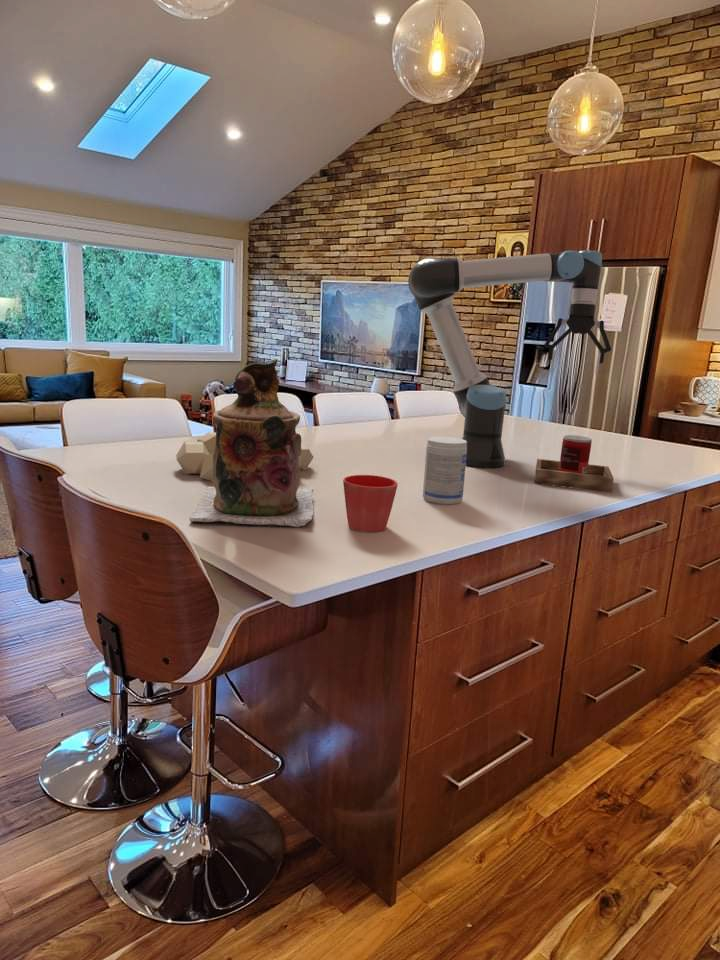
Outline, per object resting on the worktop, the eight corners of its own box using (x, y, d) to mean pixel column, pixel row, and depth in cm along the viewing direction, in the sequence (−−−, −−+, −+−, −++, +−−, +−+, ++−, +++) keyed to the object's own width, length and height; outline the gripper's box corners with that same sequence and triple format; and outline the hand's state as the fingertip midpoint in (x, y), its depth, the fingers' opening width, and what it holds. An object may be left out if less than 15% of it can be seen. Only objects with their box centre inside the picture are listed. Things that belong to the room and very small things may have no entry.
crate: (534, 483, 177) (536, 469, 176) (535, 471, 192) (537, 458, 191) (611, 492, 172) (613, 478, 171) (606, 479, 187) (608, 466, 186)
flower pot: (366, 515, 138) (369, 471, 136) (404, 529, 131) (408, 482, 128) (329, 524, 131) (332, 477, 129) (367, 539, 123) (371, 490, 121)
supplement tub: (468, 505, 151) (474, 444, 147) (429, 506, 149) (435, 443, 145) (453, 494, 160) (459, 436, 157) (416, 494, 158) (421, 435, 154)
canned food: (582, 474, 185) (588, 436, 183) (589, 480, 178) (595, 441, 175) (555, 471, 186) (560, 434, 183) (561, 478, 178) (566, 438, 176)
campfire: (209, 452, 192) (210, 395, 188) (321, 462, 188) (324, 404, 184) (157, 479, 159) (156, 410, 154) (291, 492, 154) (294, 421, 150)
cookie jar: (206, 492, 149) (207, 351, 141) (313, 496, 151) (319, 358, 143) (186, 525, 125) (185, 358, 117) (313, 530, 127) (321, 365, 119)
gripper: (624, 306, 201) (613, 374, 206) (542, 301, 208) (533, 368, 213) (627, 305, 194) (616, 376, 199) (541, 300, 200) (533, 369, 206)
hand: (573, 372), depth 206 cm, fingers open, 13 cm apart
